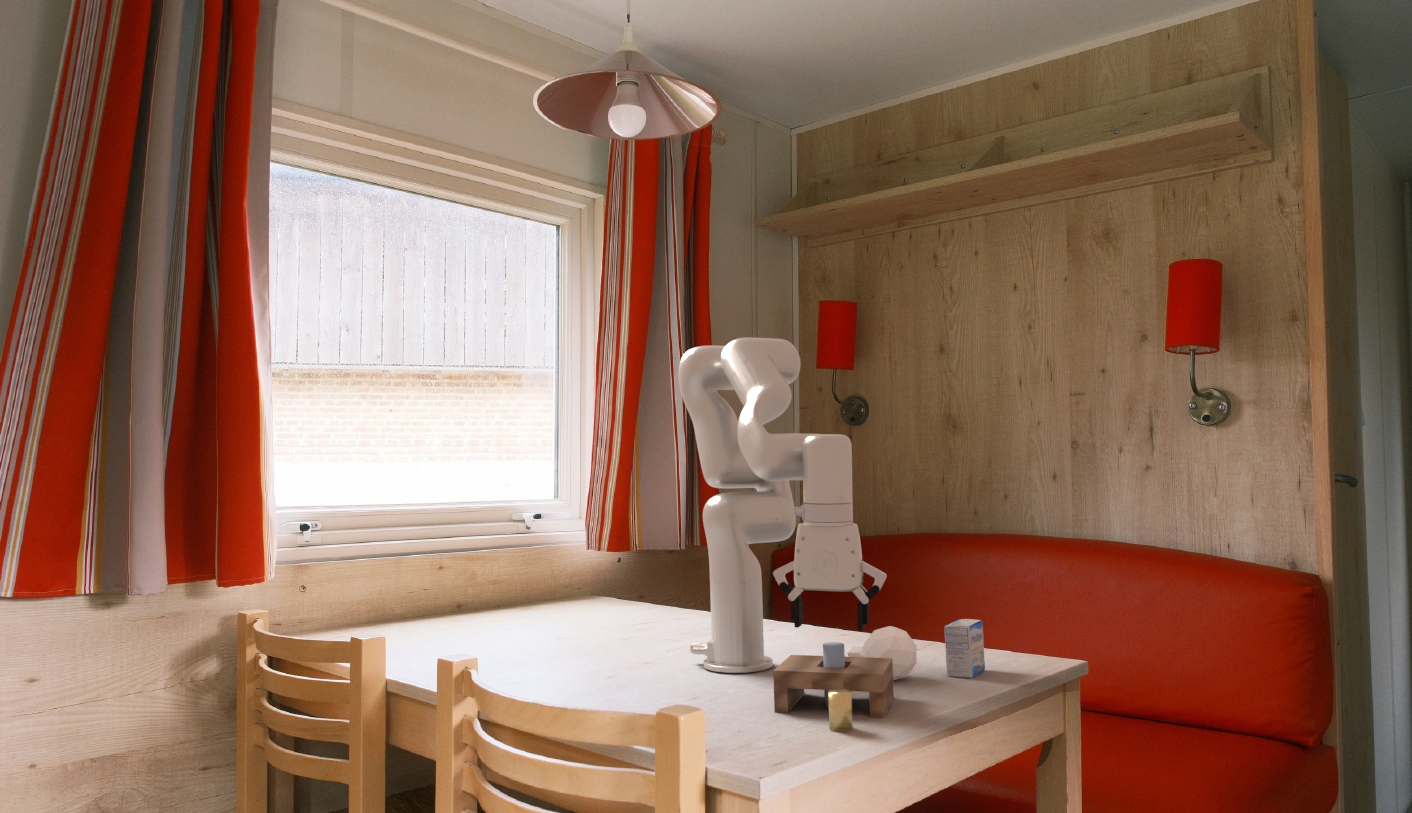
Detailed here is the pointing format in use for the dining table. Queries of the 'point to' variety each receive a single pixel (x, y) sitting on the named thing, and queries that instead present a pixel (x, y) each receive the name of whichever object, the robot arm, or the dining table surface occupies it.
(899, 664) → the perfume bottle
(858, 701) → the dining table surface
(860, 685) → the hole board
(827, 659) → the long pin
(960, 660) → the medicine box
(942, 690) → the dining table surface
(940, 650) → the dining table surface
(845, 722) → the short pin
